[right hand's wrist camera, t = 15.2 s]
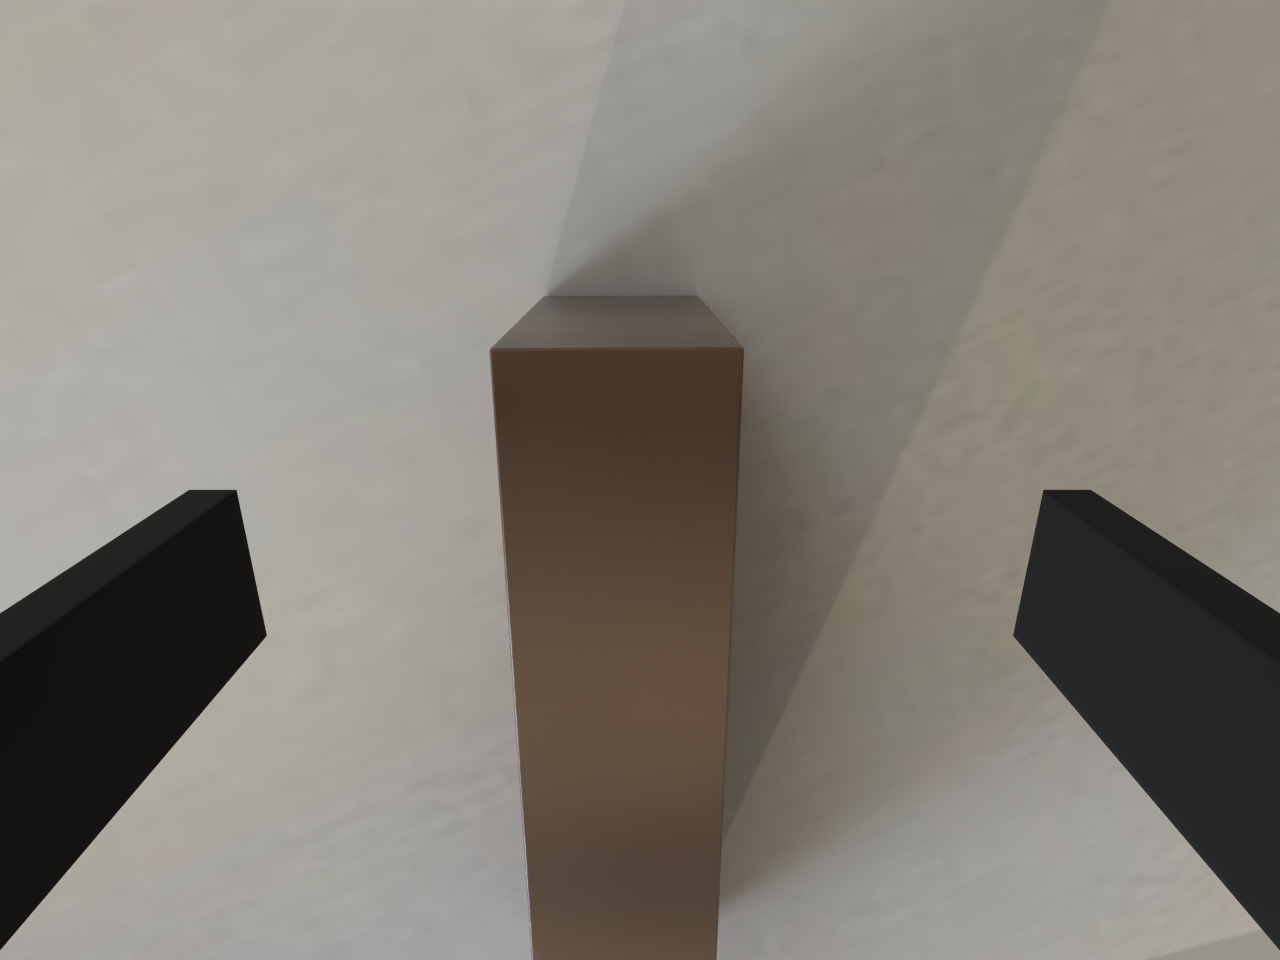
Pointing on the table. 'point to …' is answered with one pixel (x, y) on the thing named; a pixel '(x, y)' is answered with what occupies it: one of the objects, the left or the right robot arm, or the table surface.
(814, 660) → the table surface
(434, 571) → the table surface
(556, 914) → the bar
